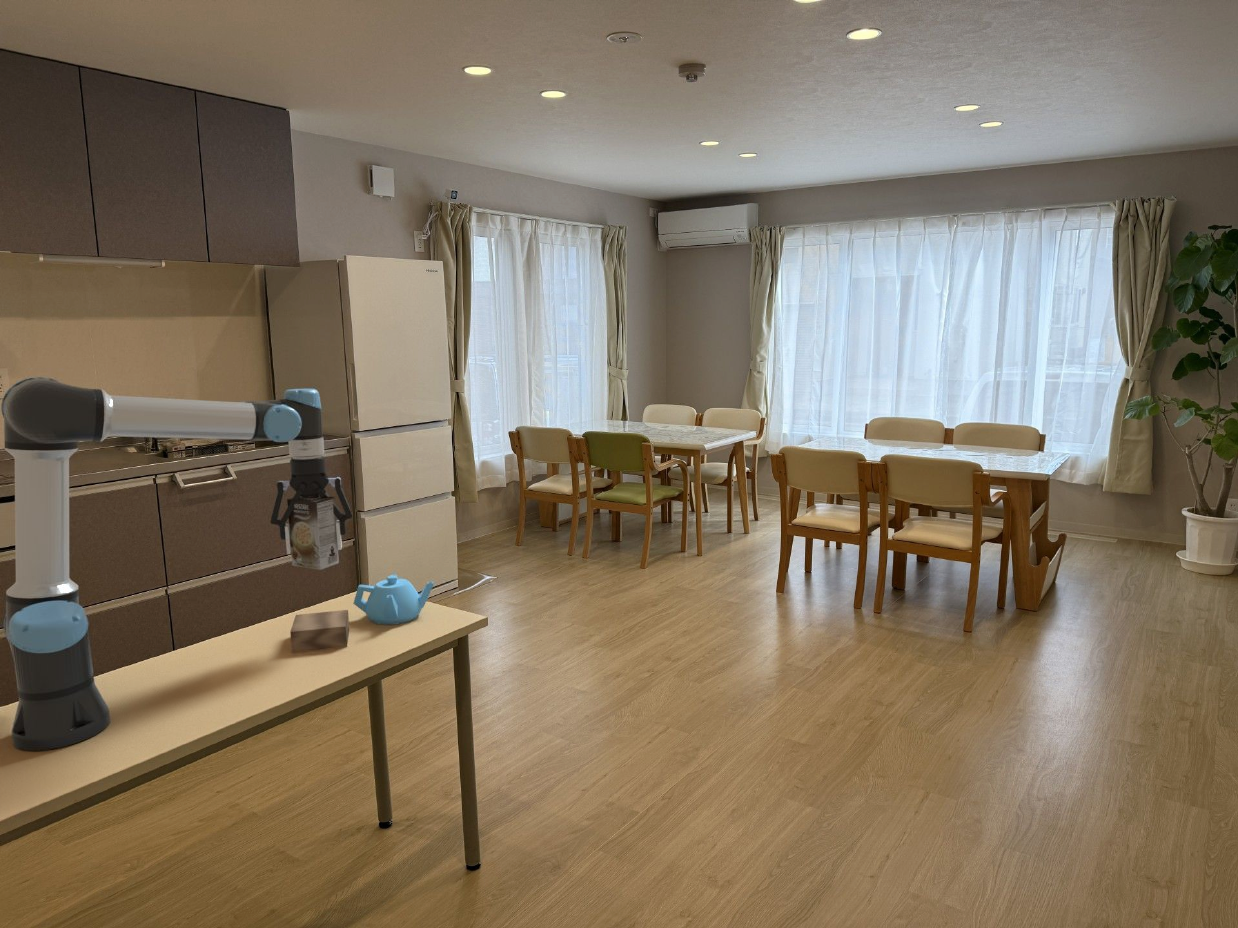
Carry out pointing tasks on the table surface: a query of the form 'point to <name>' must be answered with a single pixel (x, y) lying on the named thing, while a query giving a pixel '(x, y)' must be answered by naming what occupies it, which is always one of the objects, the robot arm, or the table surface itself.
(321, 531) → the coffee box
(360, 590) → the teapot
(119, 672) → the table surface
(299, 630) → the walnut base
